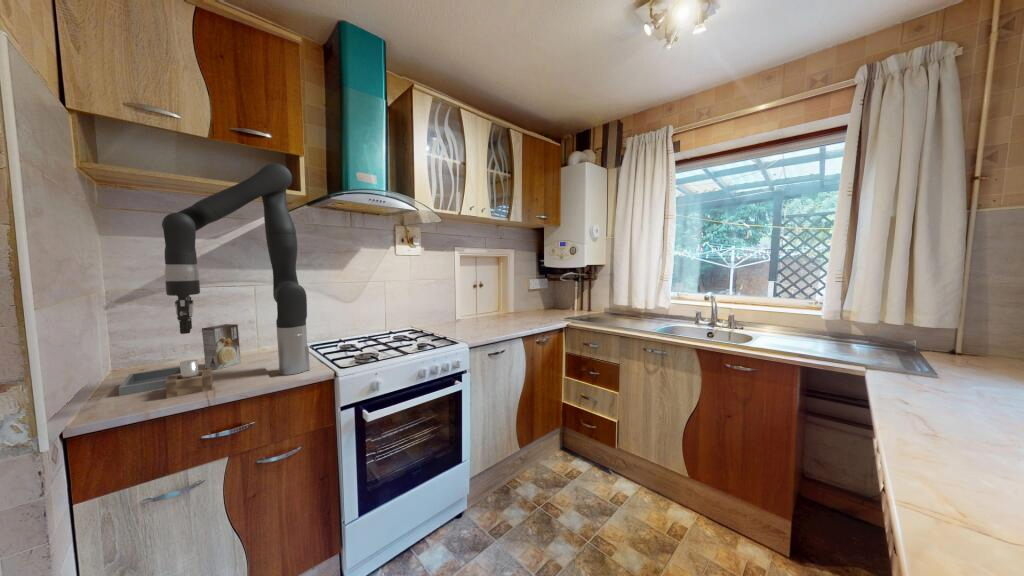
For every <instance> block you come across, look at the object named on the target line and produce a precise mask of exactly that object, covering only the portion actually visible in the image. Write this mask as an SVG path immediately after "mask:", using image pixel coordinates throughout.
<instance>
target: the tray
mask: <svg viewBox="0 0 1024 576" xmlns="http://www.w3.org/2000/svg"><path fill="white" fill-rule="evenodd" d="M180 373H181V370H180V366H175V367H168V368H161V369H153V370H147V371H142V372H141V371H139V372H135V373H134V372H133V373H129V374H128V375H127V377H126V378H125V379H124V380H123V382H121V384H120V386H118V395H119V397H122V396H128V395H134V394H139V393H145V392H151V391H157V390H162V389H166V381H167V379H168V377H169V375H174V374H180Z"/></svg>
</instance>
